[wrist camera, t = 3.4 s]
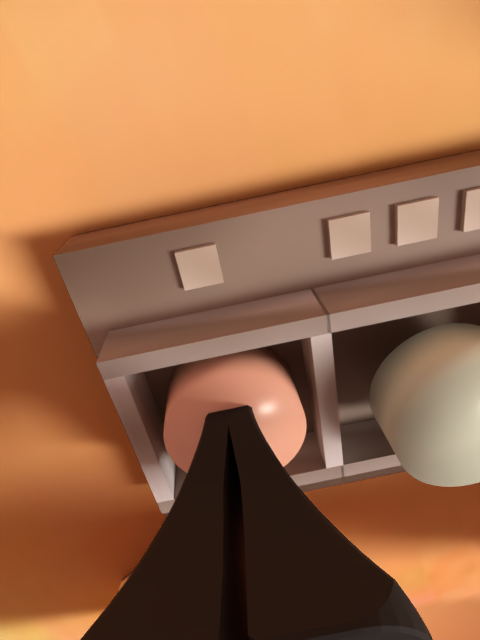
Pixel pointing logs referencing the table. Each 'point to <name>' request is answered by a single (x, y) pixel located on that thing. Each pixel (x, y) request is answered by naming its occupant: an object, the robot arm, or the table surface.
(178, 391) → the terracotta button
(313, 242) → the button panel
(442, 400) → the sage button
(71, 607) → the table surface
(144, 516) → the table surface
